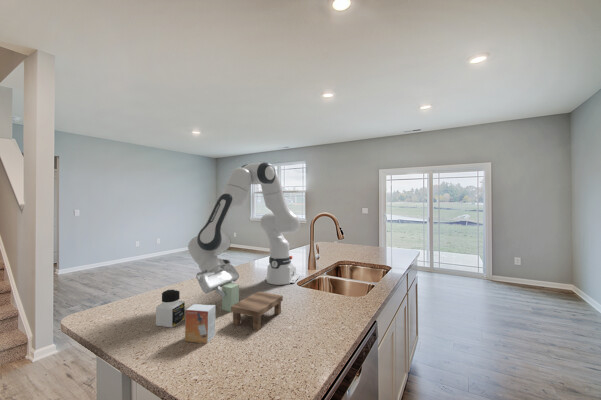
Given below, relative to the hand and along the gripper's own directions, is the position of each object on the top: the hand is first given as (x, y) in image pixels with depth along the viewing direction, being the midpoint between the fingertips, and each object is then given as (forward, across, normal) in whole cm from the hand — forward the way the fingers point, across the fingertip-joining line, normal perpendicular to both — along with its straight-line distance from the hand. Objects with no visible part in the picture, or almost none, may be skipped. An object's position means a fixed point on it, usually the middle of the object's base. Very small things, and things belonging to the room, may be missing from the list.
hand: (229, 293), depth 114 cm
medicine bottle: (-4, -20, +13) cm, 24 cm away
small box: (+10, -24, 0) cm, 26 cm away
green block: (+5, 0, +4) cm, 6 cm away
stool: (+16, -3, -7) cm, 18 cm away
